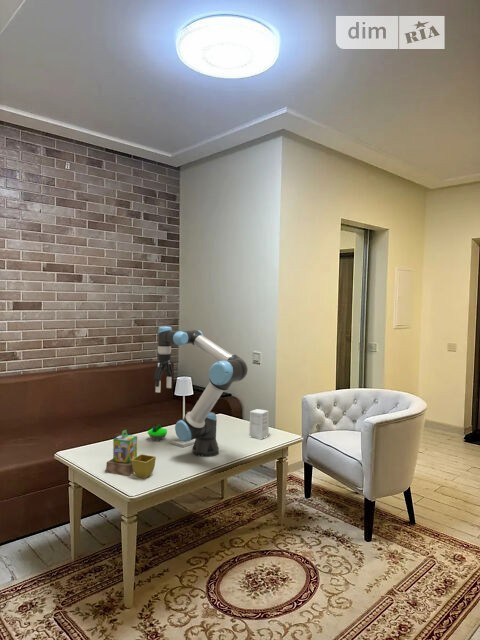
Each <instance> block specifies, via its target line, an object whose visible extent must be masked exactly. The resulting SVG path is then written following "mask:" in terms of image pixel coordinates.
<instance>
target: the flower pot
mask: <svg viewBox="0 0 480 640" xmlns="http://www.w3.org/2000/svg"><path fill="white" fill-rule="evenodd" d="M156 458H157V456H154V455H148V454H143V453H141V454H138V455H137V457H135V458H134V459H132V467H133V471H134V473H133V474H134V475H135V476H136V477H138V478H143V479H146V478H148V477H149V476H151V475H152V473H153V472H154V469H155V465H156Z"/></svg>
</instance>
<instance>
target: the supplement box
mask: <svg viewBox="0 0 480 640" xmlns="http://www.w3.org/2000/svg"><path fill="white" fill-rule="evenodd" d="M269 416H270V411H269V410H266V409H260V408H259V409H258V408H256V409H253V410H250V411H249V435H248V437H249V436H251V437H250V438H252V437H256V438H260V439H259V440H261V439H262V438H264V437H266V436H268V437H269V430H270V429H269V425H270V424H269V422H270V421H269V420H270V419H269V418H270V417H269ZM256 438H255V439H256ZM266 438H267V437H266ZM264 439H265V438H264ZM262 440H263V439H262Z"/></svg>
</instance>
